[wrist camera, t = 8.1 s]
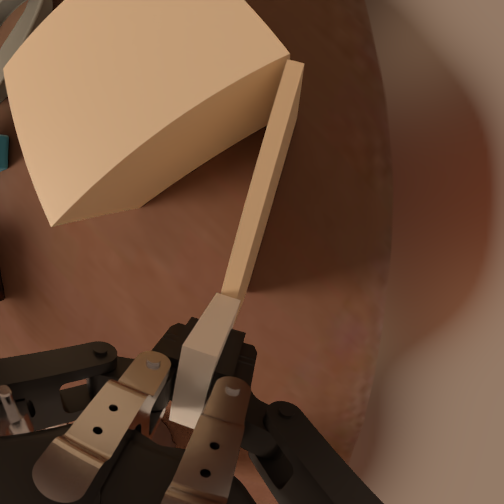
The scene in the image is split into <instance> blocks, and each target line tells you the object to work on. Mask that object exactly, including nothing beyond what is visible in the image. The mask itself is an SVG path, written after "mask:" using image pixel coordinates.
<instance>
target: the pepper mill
mask: <svg viewBox="0 0 504 504" xmlns="http://www.w3.org/2000/svg"><path fill="white" fill-rule="evenodd" d="M4 299H5V296H4V288H3V283H2V277H1V271H0V301H2V300H4Z"/></svg>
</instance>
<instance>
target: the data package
mask: <svg viewBox="0 0 504 504" xmlns="http://www.w3.org/2000/svg"><path fill="white" fill-rule="evenodd" d="M8 144H9V137H8V136H7V135H0V171H3V170H6V169H7V168H8Z"/></svg>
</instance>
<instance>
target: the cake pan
mask: <svg viewBox="0 0 504 504" xmlns="http://www.w3.org/2000/svg"><path fill="white" fill-rule="evenodd" d="M25 1H26V0H0V26H1V25H2V23H3V22H4V21H5V20H6V18H7V17H8V16H9V15H10V14H11V13H12V12H13V11H14V10H15V9H16V8H17V7H18V6H20V5H21V4H22V3H23V2H25ZM52 9H53V2H52V0H29V1H28V4H27V6H26V9H25V11H24V13H23V14H22V16H21V17H20V19H19V20H18V22H17V24H16V26H15V27H14V29H13V30H12V32H11V33H10V35H9V36H8V38H7V39H6V41H5V42H4V44H3V46H2V47H1V49H0V103H1V102H2V101H3V100H4V99H5V98H6V97H7V96H8V95H7V90H6V84H5V78H4V72H3V68H4V67H5V65H6V64H7V63H8V61H9V60H10V59H11V57H12V56H13V55H14V54H15V52H16V51H17V50H18V49H19V47H20V46H21V45H22V44H23V43H24V41H25V40H26V39H27V38H28V37H29V36H30V35H31V33H32V32H33V31H34V30H35V29H36V28H37V27H38V26H39V25H40V24H41V23H42V22H43V20H44V19H45V18H46V17H47V16H48V15H49V14H50V13H51V12H52Z"/></svg>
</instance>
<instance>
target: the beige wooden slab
mask: <svg viewBox="0 0 504 504" xmlns="http://www.w3.org/2000/svg"><path fill="white" fill-rule="evenodd" d="M303 70H304V63H300V62H297V61H292V60H288V59H287V62H286V65H285V68H284V71H283V75H282V78H281V81H280V85H279V88H278V91H277V95H276V98H275V101H274V105H273V108H272V111H271V115H270V118H269V121H268V125H267V128H266V132H265V135H264V138H263V142H262V145H261V149H260V152H259V156H258V159H257V163H256V166H255V170H254V173H253V177H252V180H251V184H250V187H249V191H248V194H247V198H246V202H245V205H244V209H243V212H242V216H241V220H240V223H239V227H238V231H237V234H236V238H235V242H234V245H233V249H232V253H231V256H230V260H229V264H228V268H227V271H226V275H225V279H224V283H223V287H222V290H221V294H219V293H216V294H215V296H214V297H213V299H212V300H211V302H210V304H209V305H208V307H207V308H206V310H205V311H204V313H203V314H202V316H201V317H200V319H199V320H198V322H197V323H196V325H195V327H194V328H193V330H192V331H191V333H190V334H189V336H188V337H187V339H186V340H185V342H184V343H183V345H182V349H181V354H180V360H179V365H178V370H177V376H176V381H175V387H174V393H173V399H172V405H171V411H170V417H169V420H170V421H173V422H176V423H178V424H181V425H184V426H187V427H189V428H192V429H195V426H196V424H197V421H198V419H199V417H200V415H201V413H203V412H204V409H205V407H206V403H207V399H208V395H209V391H210V387H211V383H212V379H213V375H214V371H215V368H216V366H217V363H218V361H219V358H220V356H221V353H222V350H223V348H224V345H225V343H226V340H227V338H228V335H229V333H230V330H231V329H233V326H234V324H235V321H236V318H237V316H238V313H239V311H240V308H241V306H242V303H243V300H244V298H245V295H246V292H247V288H248V285H249V282H250V278H251V275H252V272H253V268H254V265H255V261H256V258H257V255H258V251H259V248H260V244H261V241H262V238H263V234H264V231H265V227H266V224H267V220H268V217H269V214H270V210H271V207H272V203H273V200H274V196H275V193H276V189H277V186H278V183H279V179H280V176H281V172H282V169H283V165H284V162H285V158H286V155H287V151H288V148H289V144H290V141H291V137H292V134H293V130H294V127H295V123H296V120H297V114H298V107H299V100H300V93H301V86H302V78H303Z"/></svg>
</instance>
